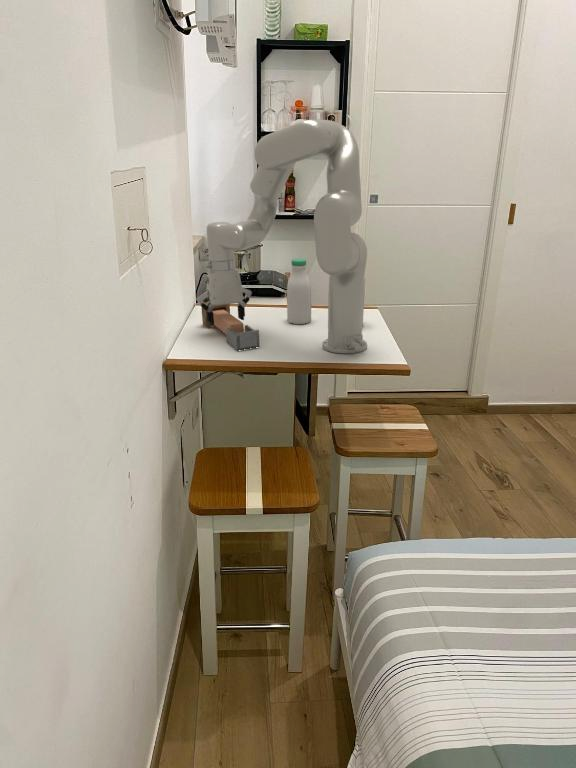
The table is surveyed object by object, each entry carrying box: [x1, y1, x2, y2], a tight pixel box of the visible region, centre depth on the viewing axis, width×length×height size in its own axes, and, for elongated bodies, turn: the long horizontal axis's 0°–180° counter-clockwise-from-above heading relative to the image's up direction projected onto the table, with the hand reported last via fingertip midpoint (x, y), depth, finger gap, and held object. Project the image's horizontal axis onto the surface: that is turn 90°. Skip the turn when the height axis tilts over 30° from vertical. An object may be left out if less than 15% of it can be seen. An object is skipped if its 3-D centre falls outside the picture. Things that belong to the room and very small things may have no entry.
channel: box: [225, 324, 260, 352], centre depth 174 cm, size 9×7×5 cm
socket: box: [201, 301, 231, 329], centre depth 193 cm, size 4×8×7 cm, turn 115°
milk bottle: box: [286, 258, 312, 325], centre depth 193 cm, size 8×8×20 cm
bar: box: [212, 308, 245, 335], centre depth 185 cm, size 20×4×4 cm, turn 25°
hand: (226, 321), depth 186 cm, fingers open, 9 cm apart
